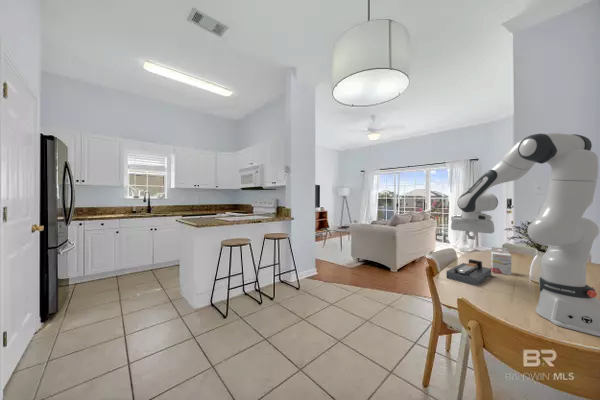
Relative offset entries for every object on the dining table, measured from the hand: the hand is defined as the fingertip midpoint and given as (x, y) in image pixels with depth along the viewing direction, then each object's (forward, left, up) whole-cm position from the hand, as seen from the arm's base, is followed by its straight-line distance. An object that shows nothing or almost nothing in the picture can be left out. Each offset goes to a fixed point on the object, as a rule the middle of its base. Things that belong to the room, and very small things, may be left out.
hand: (471, 239), depth 130 cm
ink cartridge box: (-9, -18, -22) cm, 30 cm away
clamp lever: (0, +6, -17) cm, 18 cm away
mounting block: (0, +4, -21) cm, 22 cm away
